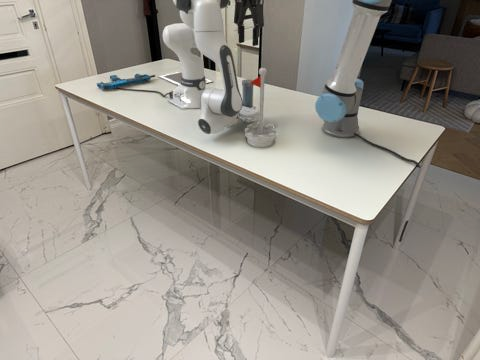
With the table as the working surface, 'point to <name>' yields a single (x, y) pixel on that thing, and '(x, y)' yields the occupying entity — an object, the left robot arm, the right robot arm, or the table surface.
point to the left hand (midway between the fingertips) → (248, 106)
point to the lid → (247, 83)
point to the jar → (247, 97)
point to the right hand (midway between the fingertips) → (248, 43)
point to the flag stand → (260, 120)
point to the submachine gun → (123, 81)
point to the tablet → (176, 78)
